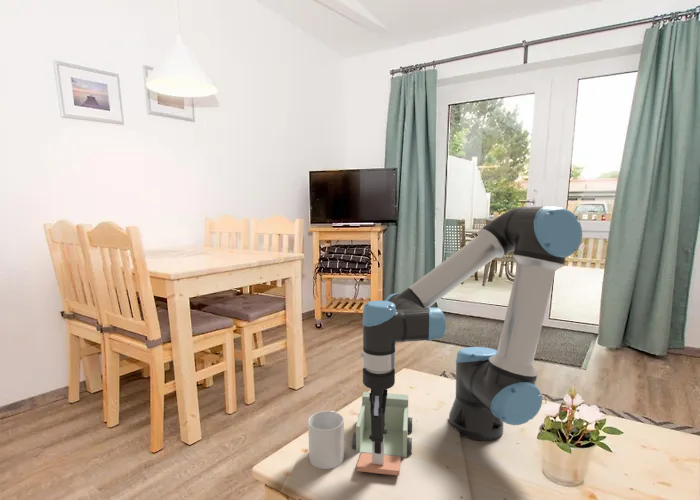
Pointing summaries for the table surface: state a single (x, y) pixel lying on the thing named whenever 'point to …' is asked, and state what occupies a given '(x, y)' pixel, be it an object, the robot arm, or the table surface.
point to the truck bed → (394, 424)
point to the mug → (326, 439)
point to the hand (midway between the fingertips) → (378, 462)
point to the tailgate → (389, 466)
